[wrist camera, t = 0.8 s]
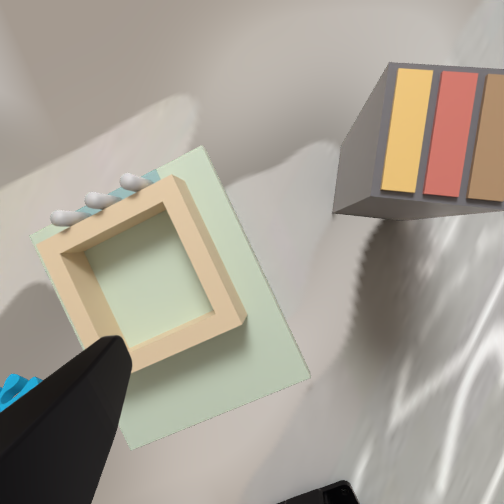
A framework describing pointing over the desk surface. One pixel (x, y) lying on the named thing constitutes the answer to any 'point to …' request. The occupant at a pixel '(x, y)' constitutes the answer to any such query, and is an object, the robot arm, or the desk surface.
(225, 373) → the board
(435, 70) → the plug block
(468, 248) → the desk surface
